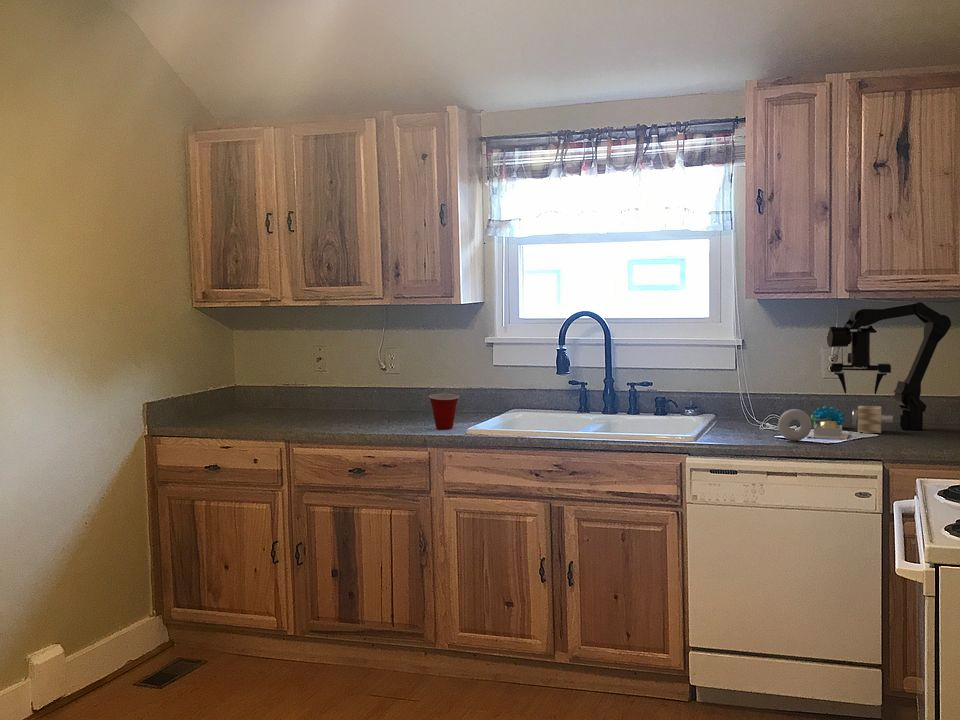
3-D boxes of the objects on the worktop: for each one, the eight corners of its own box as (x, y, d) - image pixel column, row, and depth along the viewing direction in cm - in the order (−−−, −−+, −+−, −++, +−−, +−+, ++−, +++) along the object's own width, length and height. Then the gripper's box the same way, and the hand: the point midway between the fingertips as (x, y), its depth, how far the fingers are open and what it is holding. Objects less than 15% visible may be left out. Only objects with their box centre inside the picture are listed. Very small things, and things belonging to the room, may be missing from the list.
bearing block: (881, 430, 329) (881, 406, 328) (880, 433, 322) (881, 409, 321) (858, 429, 332) (858, 405, 331) (857, 432, 324) (857, 408, 324)
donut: (778, 441, 309) (778, 409, 309) (777, 439, 313) (777, 408, 312) (812, 442, 307) (812, 409, 306) (811, 440, 310) (811, 408, 310)
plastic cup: (436, 431, 345) (435, 397, 344) (424, 428, 355) (424, 394, 354) (464, 429, 350) (464, 395, 349) (453, 425, 360) (452, 392, 359)
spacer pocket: (848, 434, 322) (848, 424, 321) (847, 439, 311) (847, 429, 310) (809, 432, 326) (809, 423, 326) (806, 438, 315) (806, 428, 315)
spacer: (837, 433, 320) (837, 421, 319) (836, 435, 315) (836, 423, 315) (820, 433, 322) (820, 420, 321) (819, 435, 317) (819, 422, 317)
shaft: (892, 425, 326) (892, 410, 326) (892, 427, 322) (892, 411, 321) (852, 424, 331) (852, 409, 331) (852, 426, 326) (852, 410, 326)
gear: (849, 422, 339) (839, 403, 334) (847, 435, 336) (837, 417, 330) (816, 424, 346) (807, 406, 340) (814, 437, 343) (804, 419, 337)
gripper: (891, 345, 334) (890, 392, 335) (832, 345, 341) (831, 390, 342) (891, 347, 323) (890, 395, 324) (830, 347, 330) (829, 394, 331)
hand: (860, 393), depth 331 cm, fingers open, 9 cm apart
